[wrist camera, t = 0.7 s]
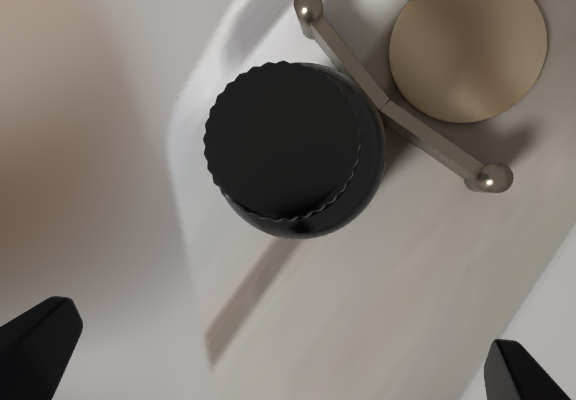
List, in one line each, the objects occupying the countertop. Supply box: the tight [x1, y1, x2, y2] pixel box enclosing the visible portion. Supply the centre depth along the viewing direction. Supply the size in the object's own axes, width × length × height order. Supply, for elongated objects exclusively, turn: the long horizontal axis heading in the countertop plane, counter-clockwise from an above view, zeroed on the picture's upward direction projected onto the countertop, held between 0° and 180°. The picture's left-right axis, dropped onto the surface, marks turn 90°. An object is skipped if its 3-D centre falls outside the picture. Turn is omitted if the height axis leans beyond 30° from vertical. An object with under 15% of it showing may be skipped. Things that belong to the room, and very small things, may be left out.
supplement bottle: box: [203, 61, 387, 239], centre depth 18 cm, size 7×7×12 cm
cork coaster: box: [389, 0, 547, 123], centre depth 22 cm, size 8×8×1 cm
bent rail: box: [294, 0, 513, 193], centre depth 22 cm, size 2×14×3 cm, turn 46°
